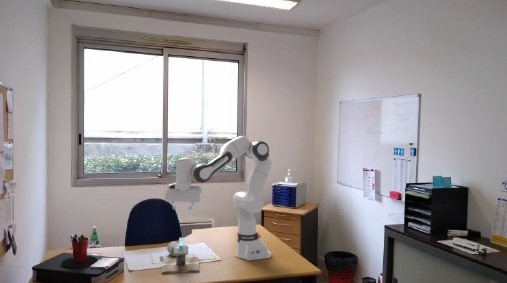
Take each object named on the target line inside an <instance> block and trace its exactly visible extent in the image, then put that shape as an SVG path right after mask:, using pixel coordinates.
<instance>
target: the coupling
mask: <svg viewBox="0 0 507 283" xmlns="http://www.w3.org/2000/svg"><path fill="white" fill-rule="evenodd" d="M178 244H179V245H178V246H175V247H174V255H177V256H184V255H185V256H187V255H188V254H189V246H188V245H185V244H184V237H179V239H178Z"/></svg>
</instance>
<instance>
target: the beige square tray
mask: <svg viewBox="0 0 507 283" xmlns="http://www.w3.org/2000/svg"><path fill="white" fill-rule="evenodd" d="M199 262H200V261H199V256H194V257H193V256H190V257H189V256H188V257H186V255H184V256H177V257H169V258H168V257H167V258H163V262H162V268H161V275H165V274H166V275H167V274H187V273H188V274H189V273H200V263H199Z"/></svg>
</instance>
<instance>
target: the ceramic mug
mask: <svg viewBox="0 0 507 283" xmlns="http://www.w3.org/2000/svg"><path fill="white" fill-rule="evenodd" d="M178 245H179V242H178V241H174V240H173V241H170V242H169V243H168V244H167V246H166V250H167V252H168V253H169V255H171V257H173V258H177V255H174V247H175V246H178Z"/></svg>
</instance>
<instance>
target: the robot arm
mask: <svg viewBox="0 0 507 283" xmlns="http://www.w3.org/2000/svg"><path fill="white" fill-rule="evenodd" d="M269 153H270V147H269V145H268V143H267V142H265V141H262V140H256V141H250V139H249V138H248V137H247V136H245V135H240V136H237V137H235V138H233V139H230V141H228V142H226V143H225V144H223V146H222V147H221V148H220V153H219V155H218V156H217V157H216V158H214V159H213V160H211V161H210V162H209V163H206V164H202V163H199V162H197V161H195V160H193V159H192V158H190V157H183V158H179V159H178V160H177V162H176V167H175V176H176V177H175V182H172V183H170V184H168V185H167V189H166V191H165V193H164V194H165V195H164V200H165V202H170V204H171V206H172V210H176V207H177V206H176V205H174V203H175V202H178V203H179V202H180V203H183V202H184V203H190V202H191V203H190V204H191V205H189V206H188V207H189V210H193V206H194V204H195V203H200V201H201V193H202V187H200V186H199V185H192V179H193V180H195V181H196V182H198V183H201V184H204V183H207V182H209V181H210V179H211V178H212V177H213V175H214V174H215V173H216V172H217V171H219V170H221V168H223V167H225V166H226V165H227V164H228V163H231V162H232V161H234V160H236V159H238V158H239V157H240V156H242V155H245V156H246V157H247V158H249V159H250V160H254V163H253V167H252V169H251V171H250V173H249V175H248V178H247V181H246V183H247V191H245V190H243V191H240V190H239V191H236V192H235V193H234V194H233V196H232V203H233V205H234V207H235V212H236V215H237V222H238V223H237V224H238V226H237V227H238V228H237V232H236V241H237V245H236V251H235V254H234V256H236V257H237V258H239V259H242V260H246V261H255V260H263V259H270V258H271V257H272V252H271V251H270V250H268V246H267V244H266V243H265V242H264V241H263V240H262V239H260V238H262V236H261V235H260V233H258V232H257V220H256V218H255V216H254V214H255V213H256V214H257V213H260V212H261V211H262V210H263V208H264V204H265V203H264V200H263V192H264V188H265V186H266V182H267V179H268V178H269V175H270V172H271V169H272V165H273V164H272V160H271V159H270V158H269V157H270V154H269Z"/></svg>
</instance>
